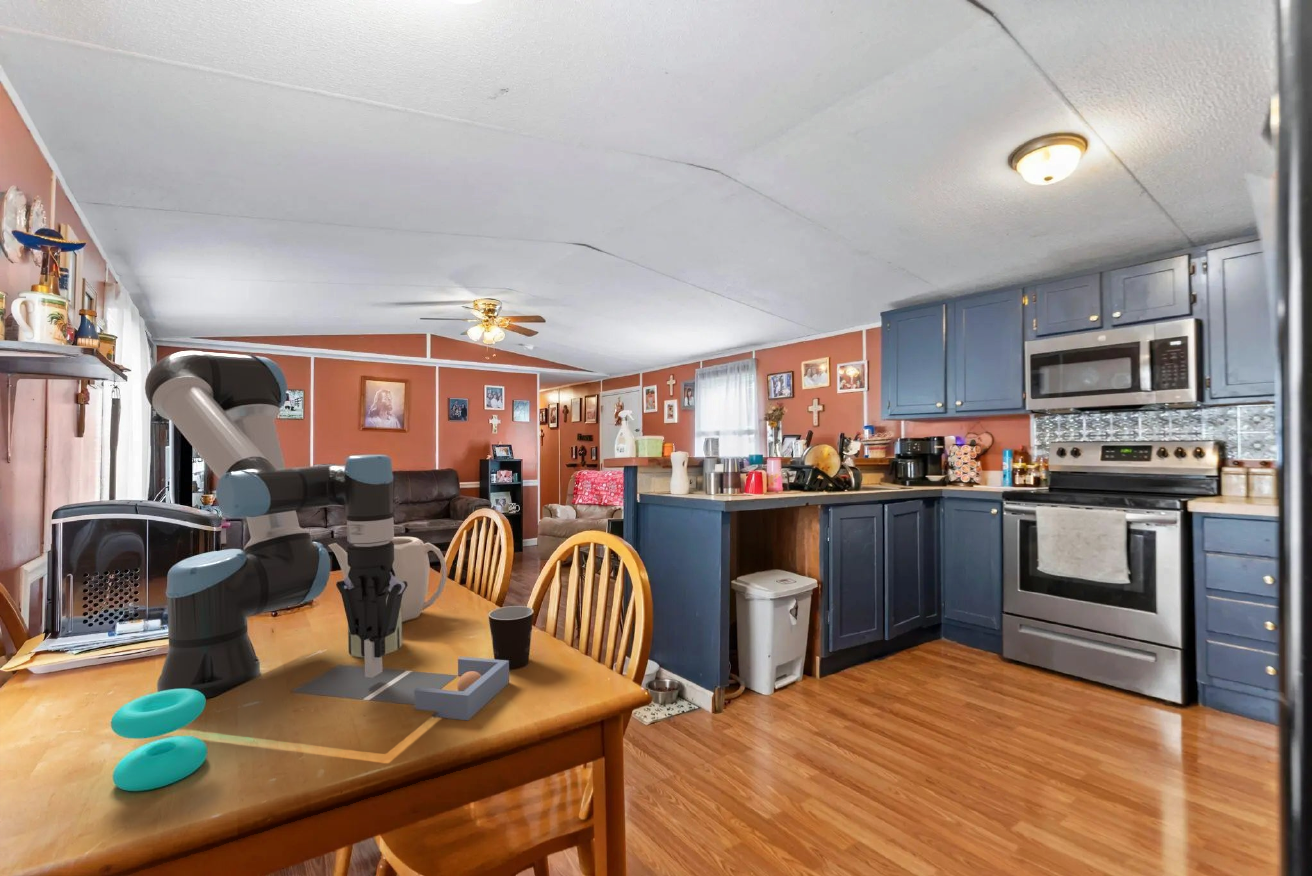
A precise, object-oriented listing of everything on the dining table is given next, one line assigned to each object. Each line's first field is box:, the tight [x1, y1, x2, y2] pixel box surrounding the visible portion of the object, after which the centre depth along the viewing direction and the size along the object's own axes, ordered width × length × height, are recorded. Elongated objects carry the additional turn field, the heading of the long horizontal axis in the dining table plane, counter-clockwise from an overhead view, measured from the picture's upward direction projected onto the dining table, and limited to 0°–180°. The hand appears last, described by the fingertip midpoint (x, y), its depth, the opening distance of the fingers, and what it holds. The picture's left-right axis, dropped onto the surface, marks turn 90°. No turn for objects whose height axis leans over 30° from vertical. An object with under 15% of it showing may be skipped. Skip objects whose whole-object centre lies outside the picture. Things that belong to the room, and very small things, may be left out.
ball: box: [456, 671, 481, 691], centre depth 105 cm, size 4×4×4 cm
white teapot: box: [327, 536, 448, 623], centre depth 148 cm, size 16×27×19 cm, turn 101°
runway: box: [290, 664, 459, 706], centre depth 109 cm, size 25×12×1 cm, turn 77°
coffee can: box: [347, 586, 403, 658], centre depth 126 cm, size 10×10×14 cm
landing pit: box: [414, 656, 510, 721], centre depth 105 cm, size 10×14×4 cm, turn 167°
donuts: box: [110, 689, 208, 792], centre depth 83 cm, size 10×10×10 cm
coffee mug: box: [487, 605, 535, 671], centre depth 122 cm, size 12×9×10 cm
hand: (373, 674), depth 109 cm, fingers closed
